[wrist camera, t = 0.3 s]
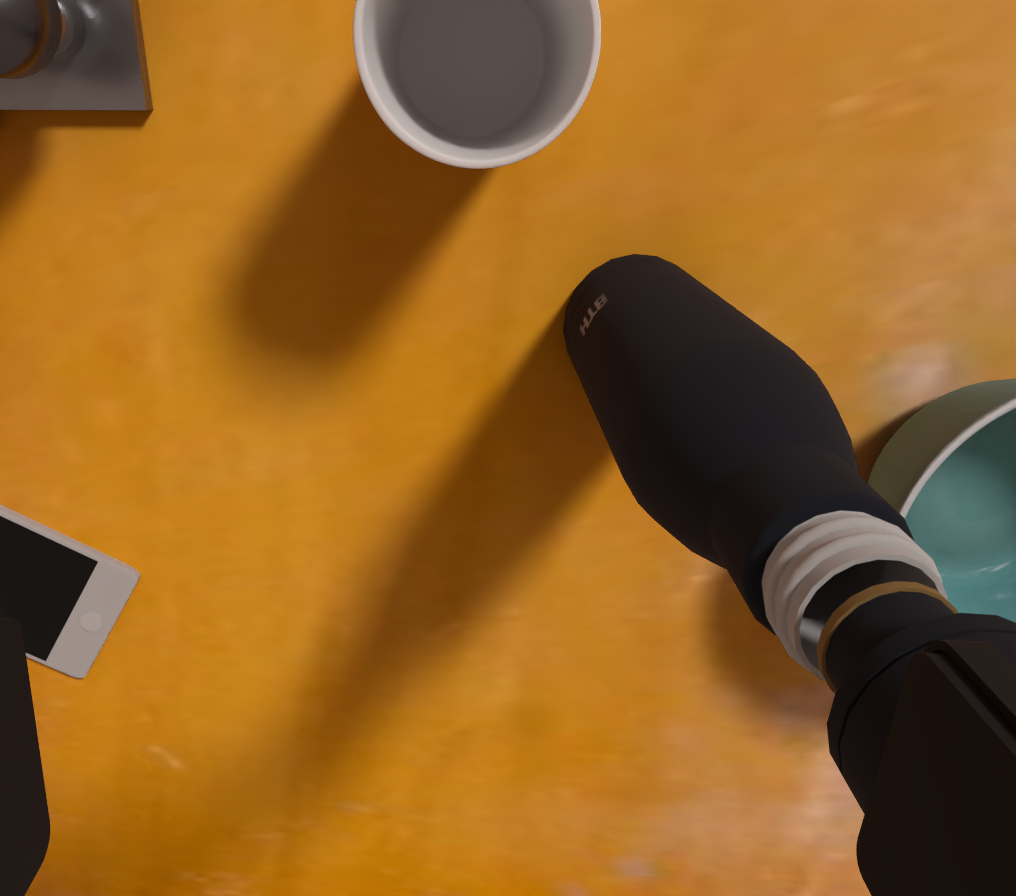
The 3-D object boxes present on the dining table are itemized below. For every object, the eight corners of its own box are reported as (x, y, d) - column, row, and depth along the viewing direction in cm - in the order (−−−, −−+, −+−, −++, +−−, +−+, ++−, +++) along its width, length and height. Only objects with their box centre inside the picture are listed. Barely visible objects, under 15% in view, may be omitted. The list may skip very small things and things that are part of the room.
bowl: (829, 327, 40) (918, 380, 32) (1159, 322, 40) (1323, 373, 33) (789, 619, 45) (856, 724, 38) (1078, 610, 46) (1201, 711, 38)
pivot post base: (-36, -64, 32) (-110, -89, 28) (129, -62, 32) (80, -87, 28) (-1, 109, 34) (-65, 110, 30) (153, 110, 35) (110, 110, 30)
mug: (469, 185, 36) (473, 219, 25) (351, 57, 34) (299, 33, 23) (651, 3, 34) (745, -48, 23) (537, -145, 32) (579, -279, 21)
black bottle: (702, 388, 40) (1249, 1024, 12) (565, 397, 40) (808, 1064, 12) (706, 249, 38) (1395, 647, 10) (560, 258, 38) (850, 692, 10)
